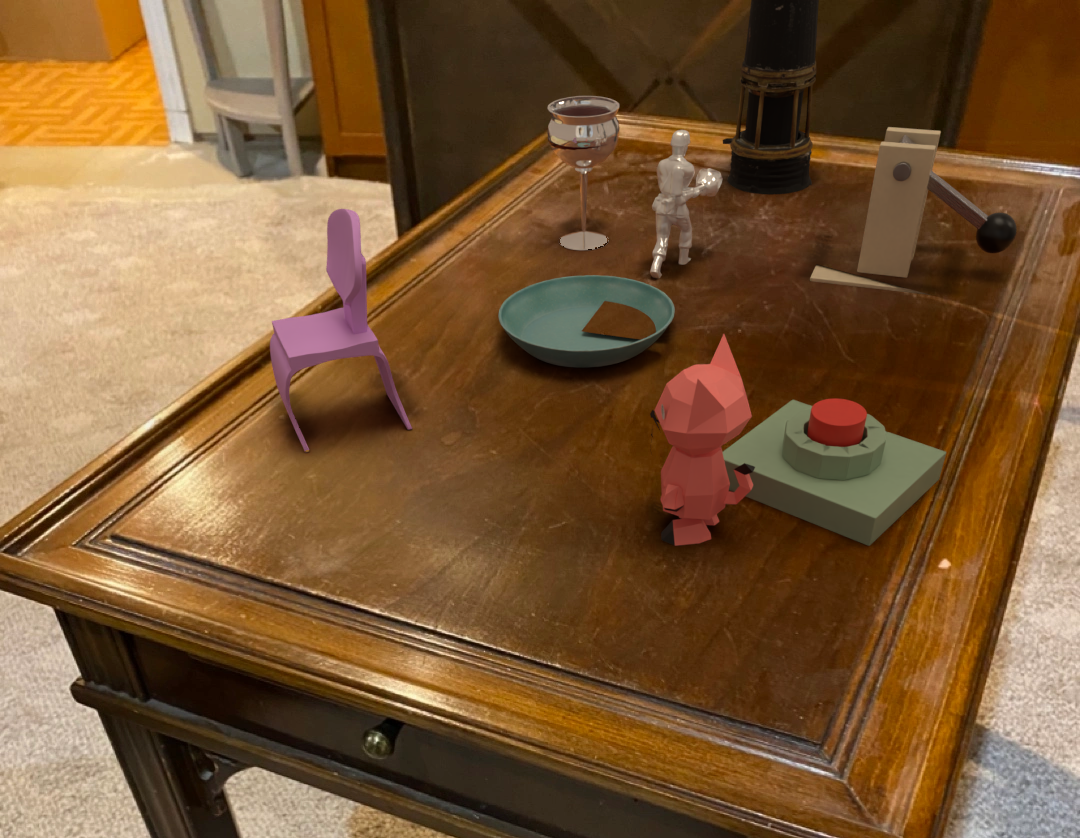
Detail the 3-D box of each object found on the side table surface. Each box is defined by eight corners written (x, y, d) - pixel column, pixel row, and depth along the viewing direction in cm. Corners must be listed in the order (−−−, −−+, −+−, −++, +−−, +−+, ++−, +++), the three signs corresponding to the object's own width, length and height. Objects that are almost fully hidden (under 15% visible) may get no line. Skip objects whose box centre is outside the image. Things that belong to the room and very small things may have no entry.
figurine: (633, 287, 97) (638, 145, 88) (670, 251, 102) (678, 114, 94) (682, 295, 95) (692, 151, 87) (717, 258, 101) (729, 119, 92)
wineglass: (596, 258, 102) (597, 121, 93) (537, 246, 104) (532, 111, 96) (629, 234, 106) (633, 101, 97) (571, 223, 108) (570, 92, 100)
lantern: (714, 178, 116) (742, -176, 95) (793, 170, 117) (838, -182, 96) (740, 207, 110) (776, -166, 89) (823, 198, 111) (878, -173, 90)
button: (871, 432, 70) (877, 409, 69) (845, 455, 69) (849, 431, 67) (824, 416, 72) (828, 392, 71) (796, 437, 70) (800, 414, 69)
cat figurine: (661, 489, 73) (671, 321, 64) (758, 507, 71) (782, 336, 62) (629, 546, 68) (636, 373, 60) (733, 567, 66) (755, 392, 58)
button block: (939, 479, 73) (953, 427, 70) (869, 547, 67) (881, 493, 65) (788, 426, 78) (796, 375, 76) (713, 484, 73) (718, 432, 70)
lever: (997, 252, 93) (1025, 222, 91) (994, 266, 91) (1024, 235, 88) (882, 161, 91) (908, 127, 89) (877, 173, 89) (904, 139, 87)
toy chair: (279, 409, 83) (234, 209, 72) (387, 387, 85) (359, 189, 74) (301, 461, 77) (255, 252, 66) (416, 435, 79) (390, 229, 68)
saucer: (633, 292, 96) (634, 262, 94) (701, 362, 86) (704, 330, 84) (479, 319, 93) (477, 289, 91) (531, 395, 83) (530, 363, 81)
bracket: (955, 267, 98) (989, 127, 89) (945, 307, 92) (981, 161, 83) (825, 253, 101) (846, 116, 93) (808, 290, 95) (829, 148, 87)
